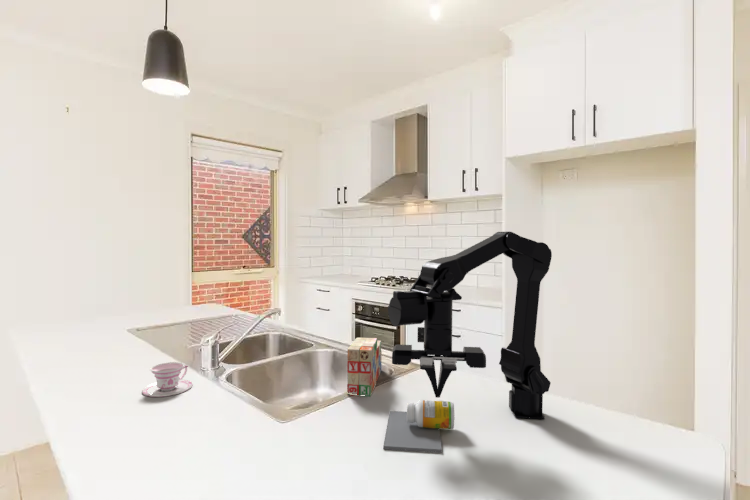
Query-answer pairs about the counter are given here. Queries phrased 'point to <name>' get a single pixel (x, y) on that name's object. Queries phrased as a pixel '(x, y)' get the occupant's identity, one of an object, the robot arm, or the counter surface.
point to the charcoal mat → (410, 435)
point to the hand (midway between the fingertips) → (437, 396)
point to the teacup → (168, 379)
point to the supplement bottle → (431, 414)
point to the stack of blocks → (363, 365)
